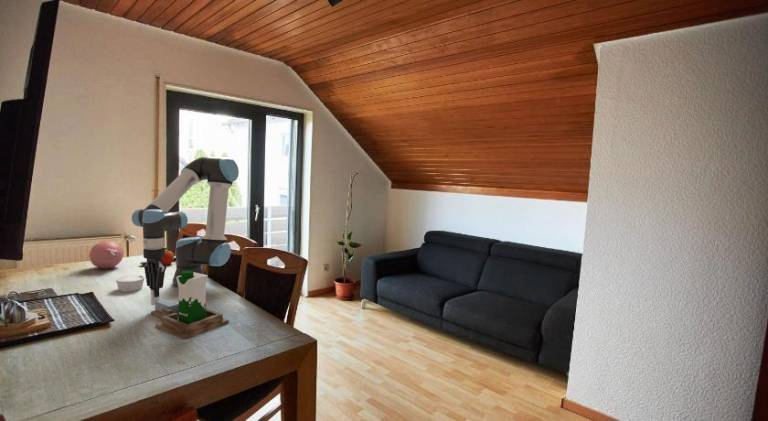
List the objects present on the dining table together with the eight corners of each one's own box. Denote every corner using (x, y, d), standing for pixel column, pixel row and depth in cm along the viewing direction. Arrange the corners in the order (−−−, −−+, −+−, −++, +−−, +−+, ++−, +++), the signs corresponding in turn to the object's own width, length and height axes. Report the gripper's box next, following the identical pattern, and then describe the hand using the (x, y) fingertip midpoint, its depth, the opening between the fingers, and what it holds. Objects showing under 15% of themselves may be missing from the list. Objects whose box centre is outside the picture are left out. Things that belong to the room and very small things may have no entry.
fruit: (151, 265, 224) (151, 249, 222) (163, 262, 233) (163, 245, 232) (166, 267, 222) (166, 250, 221) (177, 263, 231) (177, 247, 230)
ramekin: (147, 289, 184) (147, 278, 183) (119, 294, 175) (119, 283, 175) (140, 284, 191) (140, 273, 191) (113, 288, 183) (113, 277, 182)
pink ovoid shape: (95, 275, 201) (94, 246, 199) (86, 267, 214) (85, 240, 212) (129, 270, 212) (129, 243, 211) (119, 263, 226) (118, 237, 224)
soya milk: (174, 323, 144) (173, 271, 142) (195, 315, 153) (194, 266, 150) (190, 328, 141) (189, 275, 138) (211, 320, 149) (210, 269, 147)
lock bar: (164, 306, 159) (163, 298, 159) (178, 312, 154) (178, 303, 154) (155, 309, 156) (155, 301, 155) (169, 315, 151) (169, 306, 151)
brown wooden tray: (180, 305, 165) (180, 296, 165) (228, 322, 150) (228, 312, 150) (136, 318, 150) (136, 308, 149) (184, 339, 134) (184, 327, 134)
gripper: (135, 246, 156) (137, 303, 159) (153, 251, 150) (154, 310, 152) (154, 244, 163) (155, 298, 165) (172, 248, 156) (173, 304, 159)
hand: (155, 303), depth 159 cm, fingers closed
